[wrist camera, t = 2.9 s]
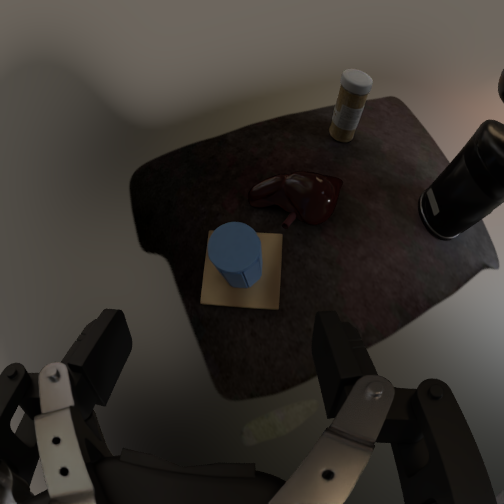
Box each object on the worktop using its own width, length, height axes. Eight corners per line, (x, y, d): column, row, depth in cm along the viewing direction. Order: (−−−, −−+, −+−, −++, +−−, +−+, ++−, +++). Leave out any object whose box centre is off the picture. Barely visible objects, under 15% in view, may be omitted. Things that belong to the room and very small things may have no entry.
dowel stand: (282, 237, 38) (285, 207, 29) (278, 310, 35) (281, 301, 26) (210, 233, 38) (194, 203, 30) (202, 304, 35) (181, 294, 27)
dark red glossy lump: (338, 209, 41) (319, 242, 33) (270, 187, 45) (237, 212, 38) (347, 171, 37) (331, 195, 29) (274, 151, 41) (240, 169, 34)
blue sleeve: (263, 250, 36) (261, 222, 27) (260, 289, 34) (258, 273, 26) (224, 247, 36) (210, 220, 28) (220, 286, 35) (204, 270, 26)
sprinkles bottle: (331, 121, 43) (345, 64, 31) (355, 130, 43) (374, 74, 30) (326, 138, 42) (340, 78, 29) (351, 147, 42) (372, 89, 29)
